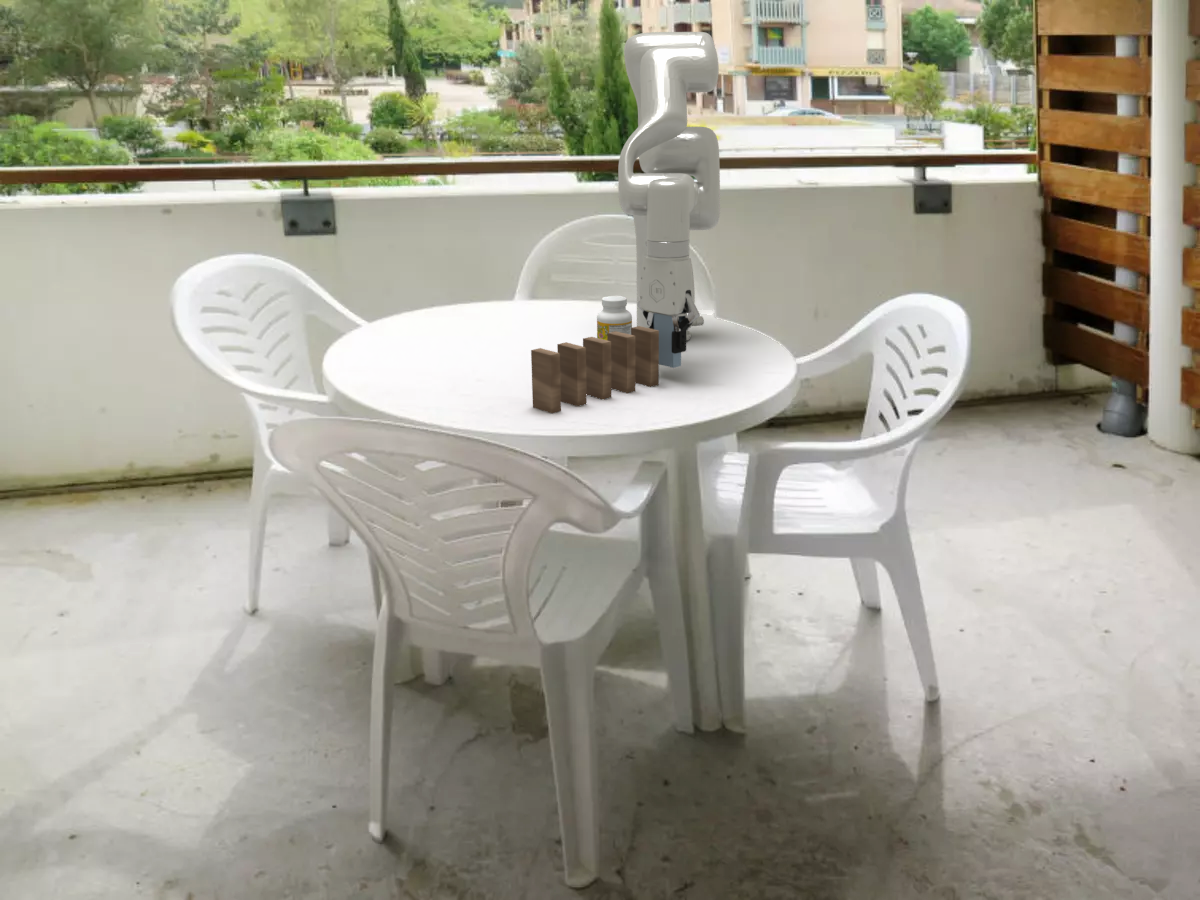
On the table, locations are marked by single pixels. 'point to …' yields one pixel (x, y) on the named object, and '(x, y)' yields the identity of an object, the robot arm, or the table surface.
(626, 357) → the domino
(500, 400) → the table surface
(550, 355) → the domino
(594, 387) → the domino
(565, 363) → the domino
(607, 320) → the supplement bottle
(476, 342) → the table surface
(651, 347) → the domino
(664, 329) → the domino
